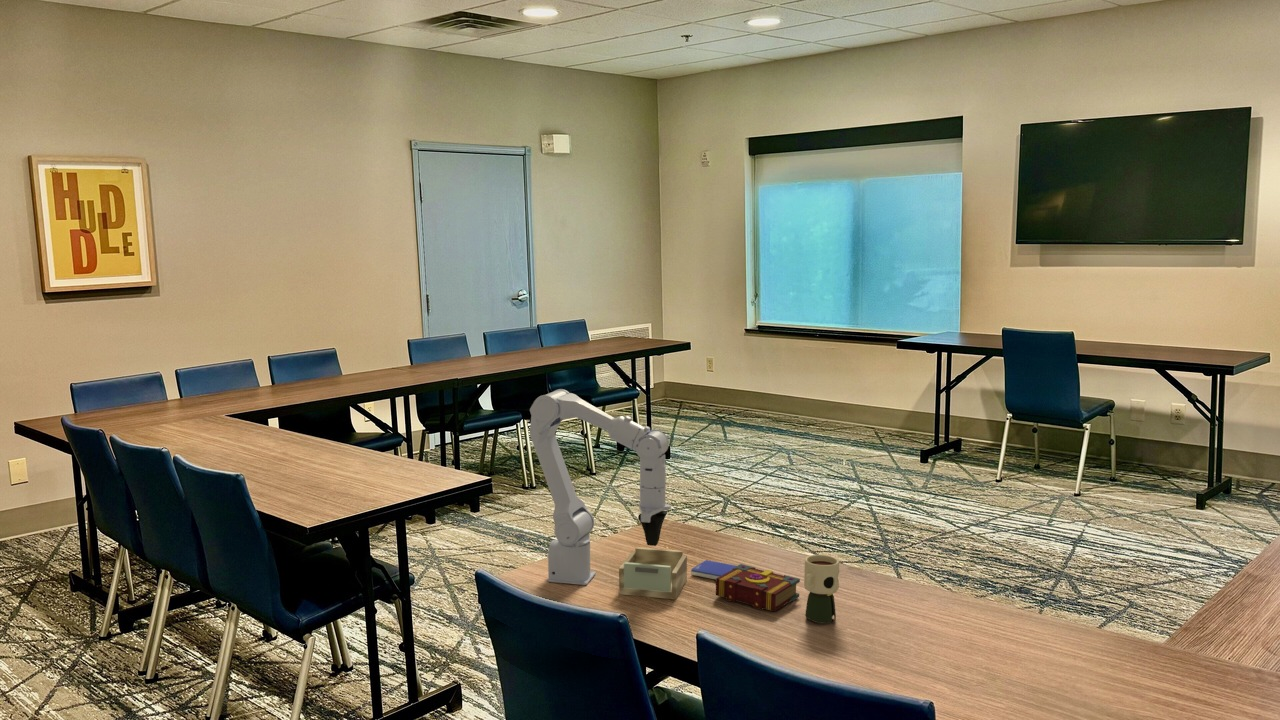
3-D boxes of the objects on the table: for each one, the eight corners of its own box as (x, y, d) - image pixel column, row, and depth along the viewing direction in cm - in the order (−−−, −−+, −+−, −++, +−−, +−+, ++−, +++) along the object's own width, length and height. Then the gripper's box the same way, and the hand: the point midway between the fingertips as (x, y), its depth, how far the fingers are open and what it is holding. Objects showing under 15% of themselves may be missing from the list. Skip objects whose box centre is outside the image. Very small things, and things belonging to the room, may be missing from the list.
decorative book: (774, 614, 208) (775, 591, 207) (709, 596, 217) (710, 574, 216) (799, 598, 217) (800, 576, 216) (736, 581, 226) (737, 560, 226)
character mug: (820, 632, 199) (822, 570, 197) (791, 623, 203) (792, 562, 202) (849, 616, 206) (851, 557, 205) (820, 608, 211) (821, 549, 209)
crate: (619, 594, 219) (619, 563, 218) (632, 575, 231) (632, 546, 230) (676, 599, 216) (676, 568, 215) (686, 580, 228) (686, 551, 227)
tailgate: (623, 588, 217) (623, 564, 217) (625, 586, 219) (625, 562, 218) (669, 592, 215) (669, 568, 214) (670, 590, 217) (670, 565, 216)
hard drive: (690, 569, 230) (739, 578, 224) (706, 559, 237) (753, 567, 231) (690, 575, 230) (739, 584, 224) (706, 565, 237) (753, 574, 231)
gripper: (663, 495, 211) (663, 556, 213) (676, 478, 225) (676, 535, 227) (631, 493, 213) (631, 553, 215) (646, 476, 227) (646, 533, 229)
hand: (652, 544), depth 221 cm, fingers closed
